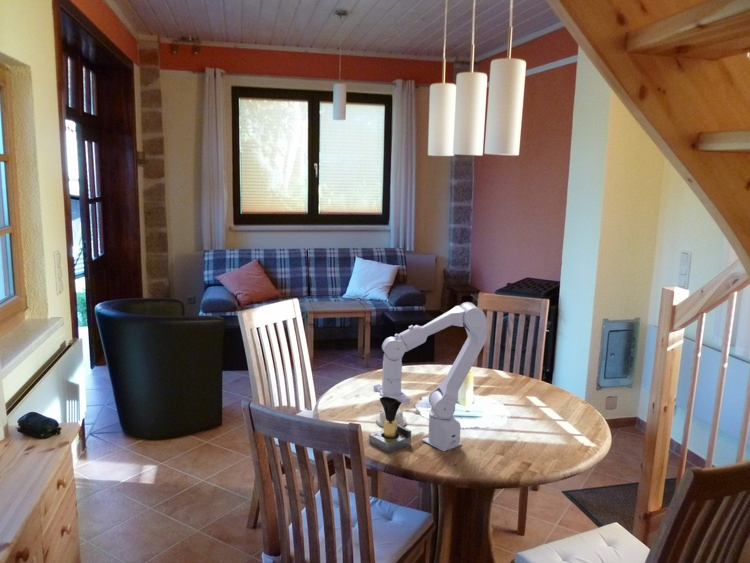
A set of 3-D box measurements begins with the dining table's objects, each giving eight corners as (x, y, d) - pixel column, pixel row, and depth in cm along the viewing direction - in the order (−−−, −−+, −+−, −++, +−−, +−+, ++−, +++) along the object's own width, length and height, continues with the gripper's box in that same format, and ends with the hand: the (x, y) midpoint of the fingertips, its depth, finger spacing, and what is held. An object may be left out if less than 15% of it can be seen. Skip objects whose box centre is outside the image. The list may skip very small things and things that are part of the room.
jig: (410, 444, 181) (411, 430, 180) (388, 452, 175) (388, 438, 175) (391, 434, 188) (391, 421, 187) (369, 441, 182) (369, 427, 182)
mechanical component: (372, 427, 194) (403, 430, 192) (373, 414, 193) (403, 417, 191) (379, 415, 204) (408, 419, 202) (380, 403, 203) (409, 406, 201)
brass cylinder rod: (399, 443, 182) (399, 422, 180) (389, 447, 179) (390, 425, 178) (389, 439, 185) (390, 418, 183) (380, 443, 182) (381, 421, 181)
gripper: (366, 373, 181) (365, 415, 184) (398, 386, 170) (396, 431, 172) (384, 369, 186) (382, 410, 188) (416, 382, 175) (414, 425, 177)
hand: (390, 420), depth 181 cm, fingers closed
